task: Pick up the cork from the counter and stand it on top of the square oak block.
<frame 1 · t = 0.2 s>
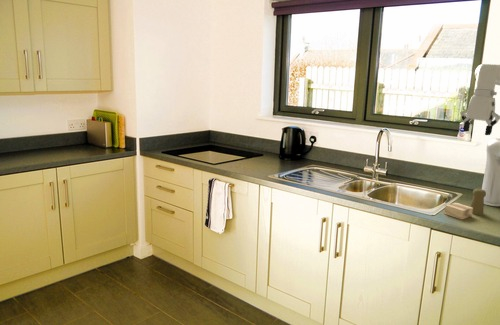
hand: (476, 133, 185), 36 cm above the countertop, tool pointing down, fingers open, 9 cm apart
cork: (475, 213, 191), on the countertop
oak block base: (457, 215, 187), on the countertop
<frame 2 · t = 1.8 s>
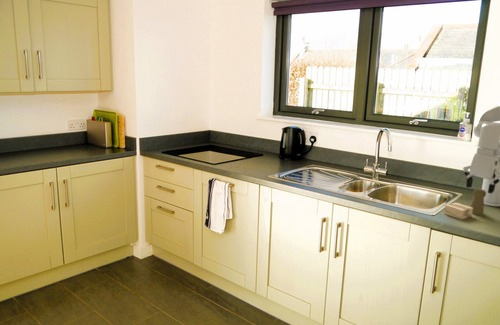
hand: (479, 189, 188), 11 cm above the countertop, tool pointing down, fingers open, 9 cm apart
nothing on the countertop moved.
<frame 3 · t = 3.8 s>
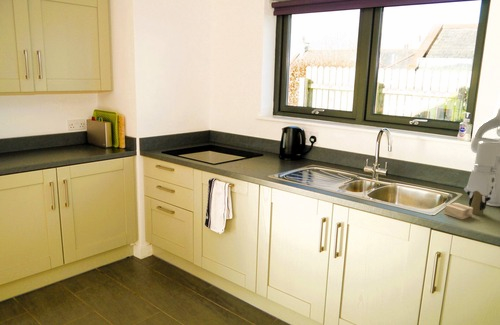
hand: (476, 207, 190), 2 cm above the countertop, tool pointing down, fingers closed on cork, 4 cm apart
cork: (475, 213, 191), on the countertop, touching gripper
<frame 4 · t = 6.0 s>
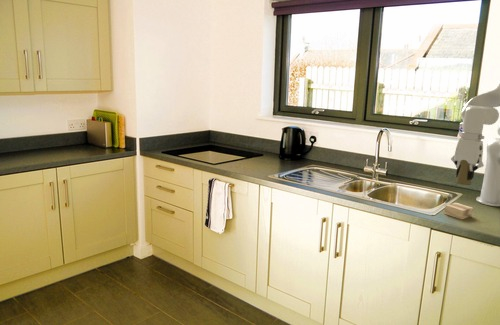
hand: (464, 178, 183), 17 cm above the countertop, tool pointing down, fingers closed on cork, 4 cm apart
cork: (463, 183, 183), point 14 cm above the countertop, touching gripper
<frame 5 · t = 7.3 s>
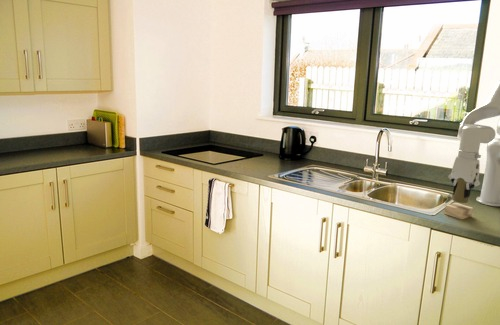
hand: (460, 195, 184), 9 cm above the countertop, tool pointing down, fingers closed on cork, 4 cm apart
cork: (460, 201, 185), point 6 cm above the countertop, touching gripper
when the fingers open (7 cm above the countertop, at t = 8.4 s): cork stays where it is, resting on oak block base.
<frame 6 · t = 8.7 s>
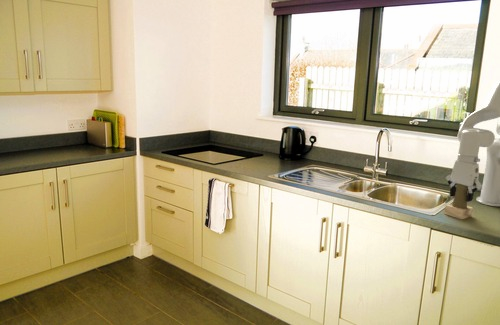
hand: (460, 198, 185), 8 cm above the countertop, tool pointing down, fingers open, 7 cm apart
cork: (459, 206, 186), point 4 cm above the countertop, touching oak block base
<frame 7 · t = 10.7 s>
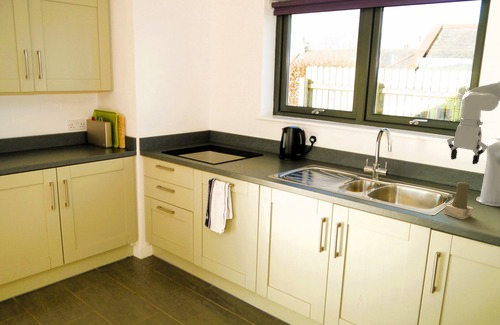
hand: (464, 161, 186), 23 cm above the countertop, tool pointing down, fingers open, 9 cm apart
nothing on the countertop moved.
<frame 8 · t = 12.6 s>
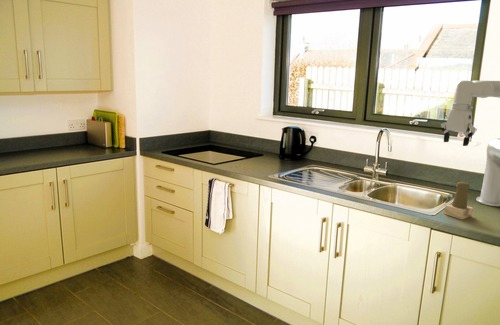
hand: (455, 143, 200), 28 cm above the countertop, tool pointing down, fingers open, 9 cm apart
nothing on the countertop moved.
at the end: cork 0.2 cm off-centre on the oak block base, point 3.8 cm above the oak block base's base; cork tilted 0°; the gripper is holding nothing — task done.
